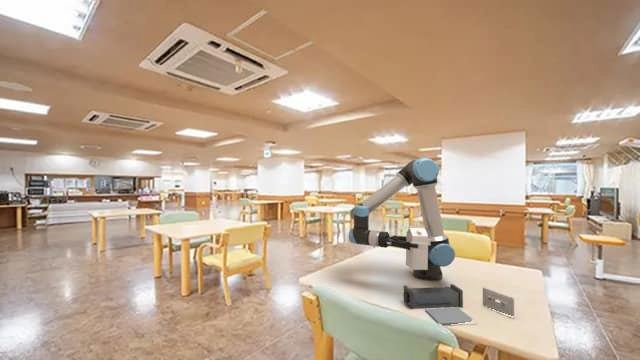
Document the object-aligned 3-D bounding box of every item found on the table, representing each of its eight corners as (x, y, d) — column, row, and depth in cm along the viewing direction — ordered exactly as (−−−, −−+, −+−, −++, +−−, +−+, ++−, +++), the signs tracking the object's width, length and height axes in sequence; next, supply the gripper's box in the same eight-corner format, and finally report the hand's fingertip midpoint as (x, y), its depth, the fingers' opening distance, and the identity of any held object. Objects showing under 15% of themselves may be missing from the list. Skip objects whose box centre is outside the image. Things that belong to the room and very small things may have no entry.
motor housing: (453, 300, 118) (452, 284, 118) (462, 307, 111) (462, 290, 111) (402, 301, 116) (402, 285, 116) (409, 309, 109) (409, 292, 109)
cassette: (481, 306, 112) (481, 287, 112) (484, 305, 113) (484, 286, 113) (512, 319, 101) (512, 298, 102) (515, 318, 102) (515, 297, 102)
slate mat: (458, 309, 108) (458, 307, 108) (476, 324, 98) (476, 321, 98) (425, 311, 107) (425, 309, 107) (439, 325, 96) (439, 323, 96)
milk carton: (405, 265, 125) (406, 224, 125) (420, 265, 125) (421, 224, 126) (411, 270, 118) (412, 226, 118) (427, 270, 118) (428, 227, 119)
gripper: (386, 242, 140) (432, 248, 129) (371, 251, 121) (423, 259, 110) (386, 228, 140) (432, 232, 129) (371, 234, 121) (423, 240, 110)
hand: (428, 244), depth 119 cm, fingers closed on milk carton, 10 cm apart
